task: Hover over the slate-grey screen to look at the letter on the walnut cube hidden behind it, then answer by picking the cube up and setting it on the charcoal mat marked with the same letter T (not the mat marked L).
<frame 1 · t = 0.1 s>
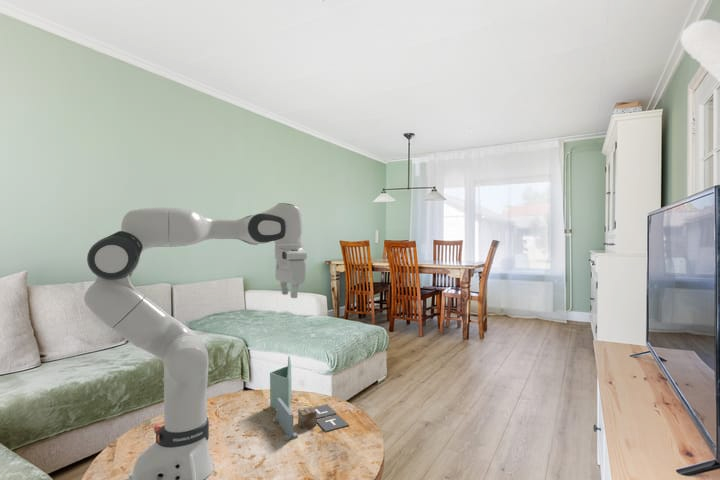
hand: (289, 296, 121), 48 cm above the table, fingers open, 8 cm apart
cube: (307, 424, 134), on the table
pad T: (332, 423, 134), on the table
pad L: (321, 412, 143), on the table
screen: (284, 428, 131), on the table
planter: (280, 406, 149), on the table
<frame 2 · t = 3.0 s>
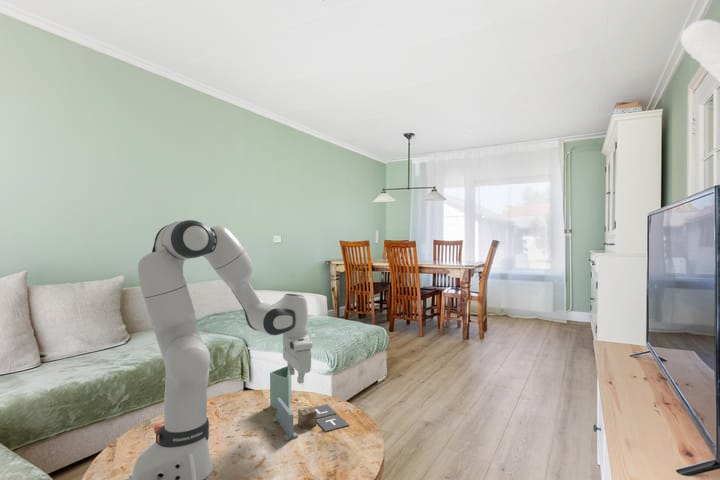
hand: (295, 378, 132), 17 cm above the table, fingers open, 8 cm apart
nothing on the table moved.
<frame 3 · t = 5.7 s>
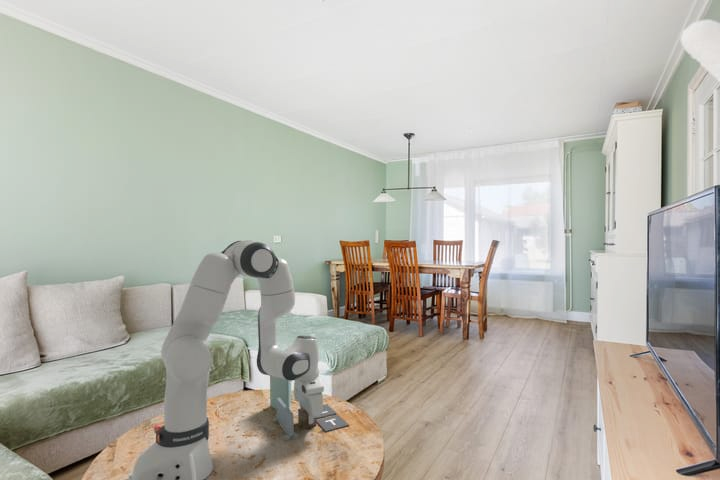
hand: (307, 419, 134), 2 cm above the table, fingers closed on cube, 5 cm apart
cube: (307, 424, 134), on the table, touching gripper
everything else where it was.
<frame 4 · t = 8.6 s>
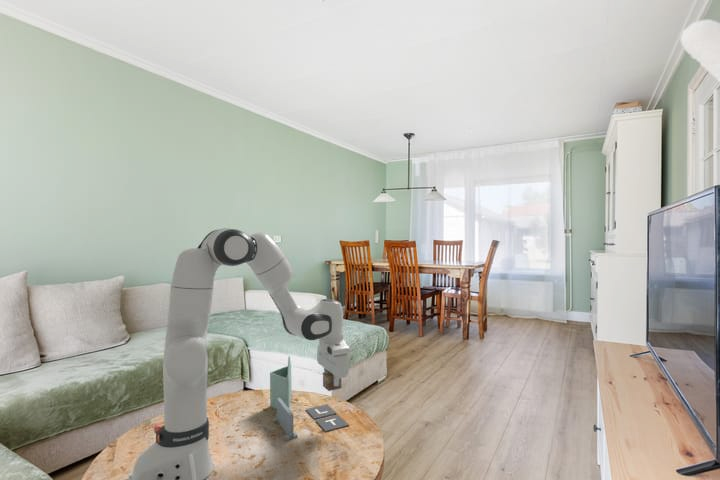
hand: (331, 382, 134), 15 cm above the table, fingers closed on cube, 5 cm apart
cube: (332, 387, 134), point 13 cm above the table, touching gripper
everything else where it was.
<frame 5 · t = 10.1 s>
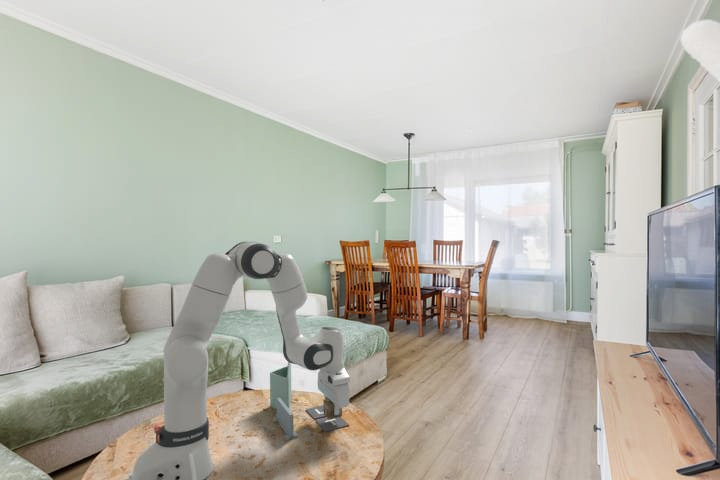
hand: (332, 410, 134), 5 cm above the table, fingers closed on cube, 5 cm apart
cube: (332, 415, 134), point 3 cm above the table, touching gripper
everything else where it was.
when the fingers open (3 cm above the table, at t = 11.3 s): cube stays where it is, resting on pad T.
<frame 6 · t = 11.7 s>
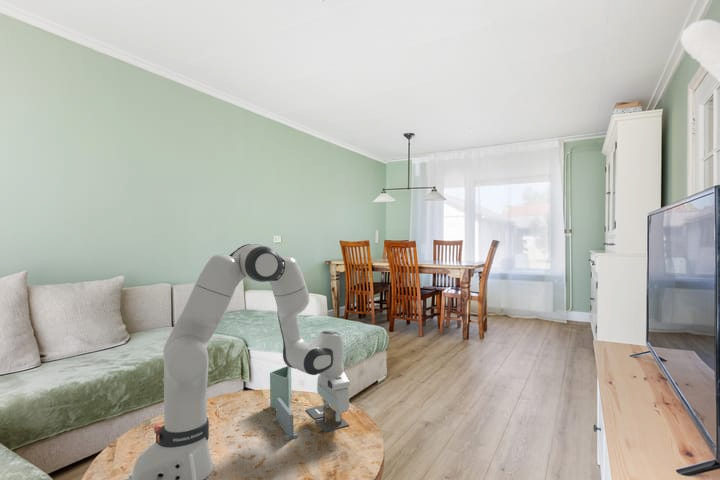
hand: (332, 414, 134), 3 cm above the table, fingers open, 8 cm apart
cube: (332, 422, 134), resting on pad T
everything else where it was.
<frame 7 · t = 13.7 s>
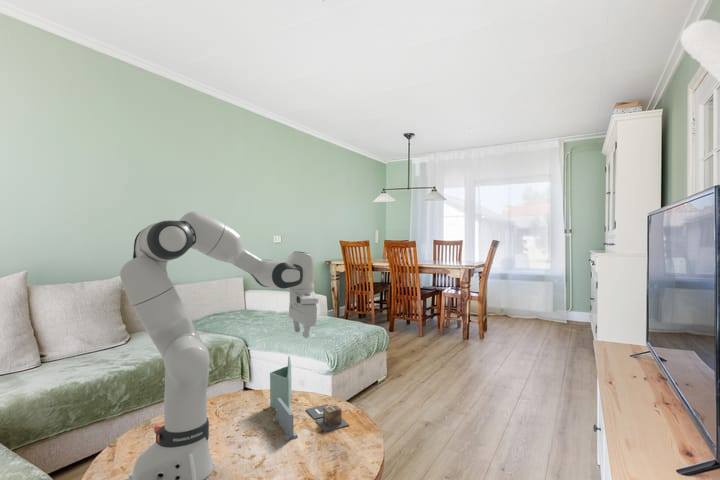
hand: (301, 334, 135), 32 cm above the table, fingers open, 8 cm apart
nothing on the table moved.
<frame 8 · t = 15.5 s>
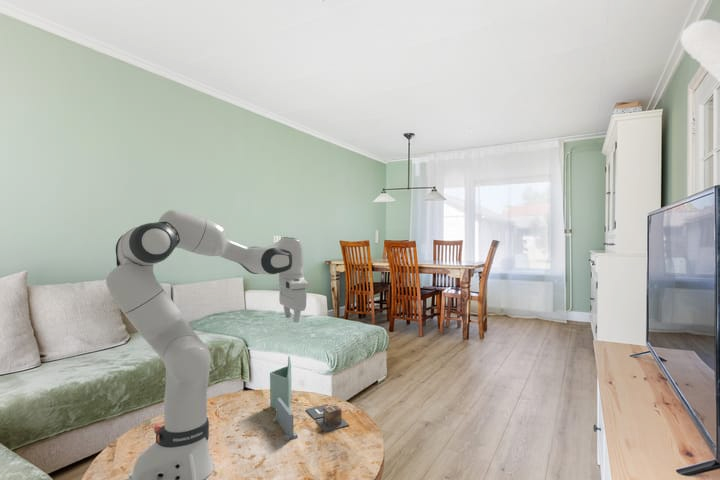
hand: (291, 319, 136), 37 cm above the table, fingers open, 8 cm apart
nothing on the table moved.
at the end: cube inside the target area on the pad T (0.0 cm from its centre), point 0.5 cm above the pad T's base; cube tilted 0°; the gripper is holding nothing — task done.
